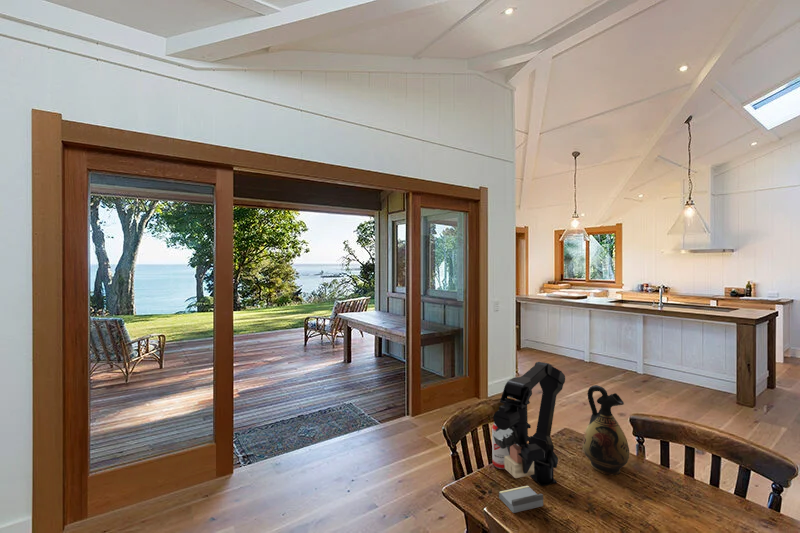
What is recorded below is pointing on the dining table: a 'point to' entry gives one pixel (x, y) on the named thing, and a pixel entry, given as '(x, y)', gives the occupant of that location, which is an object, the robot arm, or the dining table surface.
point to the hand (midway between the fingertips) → (519, 468)
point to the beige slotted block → (516, 467)
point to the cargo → (515, 453)
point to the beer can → (498, 452)
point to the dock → (521, 499)
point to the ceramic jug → (605, 435)
